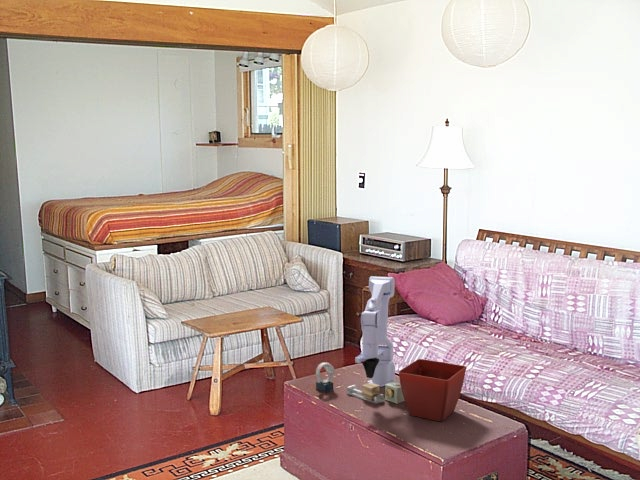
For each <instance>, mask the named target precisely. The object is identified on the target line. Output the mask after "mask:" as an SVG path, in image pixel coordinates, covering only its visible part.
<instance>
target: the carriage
mask: <svg viewBox="0 0 640 480" xmlns="http://www.w3.org/2000/svg"><path fill="white" fill-rule="evenodd" d="M380 388H381V387H380V386H379V385H376V384H373V383H368V382H367V383H364V384H361V391H362V397H365V398H368V399H371V400H372V399H374V395H375V396H377V395H380V394H381V393H380V391H381V390H380Z"/></svg>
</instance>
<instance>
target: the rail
mask: <svg viewBox="0 0 640 480" xmlns="http://www.w3.org/2000/svg"><path fill="white" fill-rule="evenodd" d="M346 395H350V396H352V397H355V398H358V399H361V400H364V401H366V402H370V403H371V404H375V405H377V404H380V403H383V402H384V400H385V393H384V394H383V393H379V395H377V396H375V395H374V399H372V400H371V399H368V398H365V397H362V390H360V389H357V384H352V385H349V386H347V388H346Z"/></svg>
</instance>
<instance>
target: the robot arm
mask: <svg viewBox="0 0 640 480" xmlns="http://www.w3.org/2000/svg"><path fill="white" fill-rule="evenodd" d="M368 279H369V280H368V289H369V292H370V294H371V297H370V298H369V299H368V300H367V302H366V306H365V308H364V311H362V312H361V313H360V314H361V315H360V325H361V326H360V327H361V331H362V350H361V351H360V354H359V355H357V356H355V358H354V362H355V364H362V365H363V369H364V371H365V375H366V378H368V379H370V380H367V383H373V384H376V385H379V386H380V388H382V387H385V384H388V383H391V382H394V381H397V380H396V374H395V373H396V371H395V370H396V368H395V367H396V366H395V362H394V361H393V360H394V355H395V354H394V353H395V351H394V342H392V341H391V340H390V339H389V338H388V322H389V320H388V319H389V317H388V316H389V302H390V298H393V297H394V296H395V287H396V285H395V284H396V282H395V278H394V276H373V275H371V276H370V277H369V278H368Z"/></svg>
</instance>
